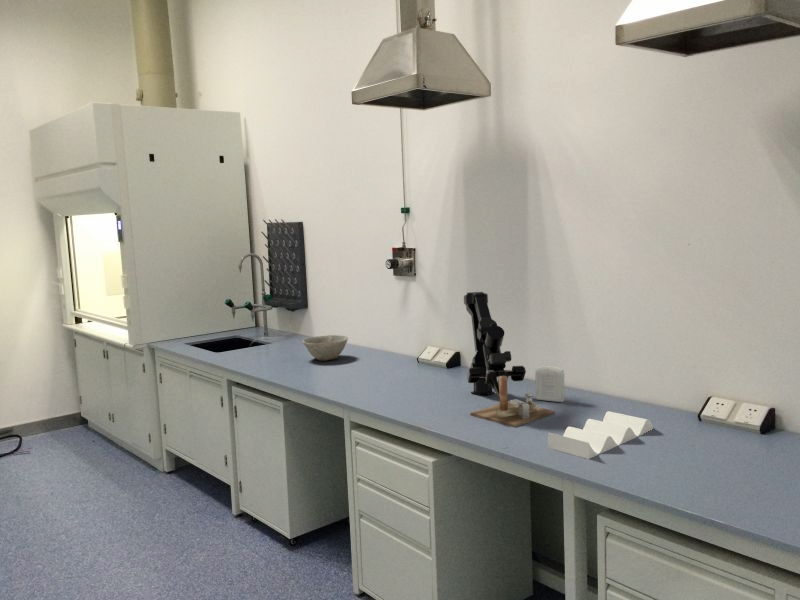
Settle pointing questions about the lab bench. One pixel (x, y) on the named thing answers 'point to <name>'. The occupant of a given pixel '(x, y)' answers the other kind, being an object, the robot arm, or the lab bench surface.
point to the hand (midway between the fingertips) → (500, 396)
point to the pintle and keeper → (523, 405)
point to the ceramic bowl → (325, 346)
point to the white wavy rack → (599, 435)
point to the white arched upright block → (549, 383)
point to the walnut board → (510, 420)
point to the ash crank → (503, 396)
